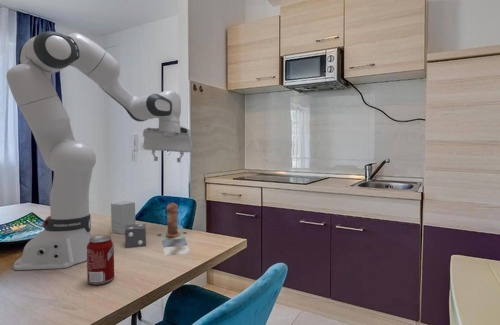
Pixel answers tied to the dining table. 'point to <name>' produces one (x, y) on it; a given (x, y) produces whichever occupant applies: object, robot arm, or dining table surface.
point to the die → (135, 235)
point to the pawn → (172, 221)
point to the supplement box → (122, 215)
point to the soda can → (100, 260)
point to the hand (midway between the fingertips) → (167, 161)
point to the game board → (174, 244)
